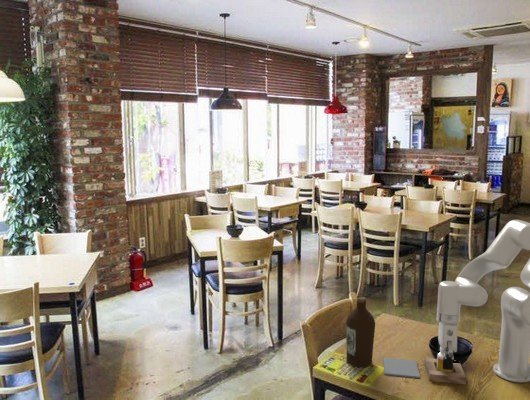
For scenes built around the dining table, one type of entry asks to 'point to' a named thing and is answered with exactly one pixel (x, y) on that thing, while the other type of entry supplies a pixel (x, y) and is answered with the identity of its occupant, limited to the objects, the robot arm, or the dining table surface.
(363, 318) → the olive oil
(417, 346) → the dining table surface
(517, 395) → the dining table surface
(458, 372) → the frame
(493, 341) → the dining table surface
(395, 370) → the slate coaster
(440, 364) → the supplement bottle
